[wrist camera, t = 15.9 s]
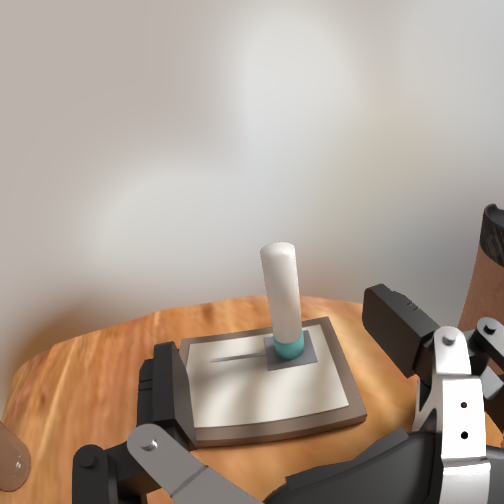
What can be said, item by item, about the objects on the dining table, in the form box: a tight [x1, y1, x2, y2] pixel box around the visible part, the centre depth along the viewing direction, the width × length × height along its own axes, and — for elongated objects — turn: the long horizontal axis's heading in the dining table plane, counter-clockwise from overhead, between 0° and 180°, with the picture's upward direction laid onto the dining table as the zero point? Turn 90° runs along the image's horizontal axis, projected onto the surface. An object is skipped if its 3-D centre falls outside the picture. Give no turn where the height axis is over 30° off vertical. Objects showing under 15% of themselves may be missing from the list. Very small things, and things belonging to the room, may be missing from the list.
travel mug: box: [457, 204, 504, 413], centre depth 16 cm, size 8×8×20 cm
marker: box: [260, 242, 304, 360], centre depth 29 cm, size 3×3×13 cm
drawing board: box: [179, 316, 367, 447], centre depth 30 cm, size 20×16×2 cm
